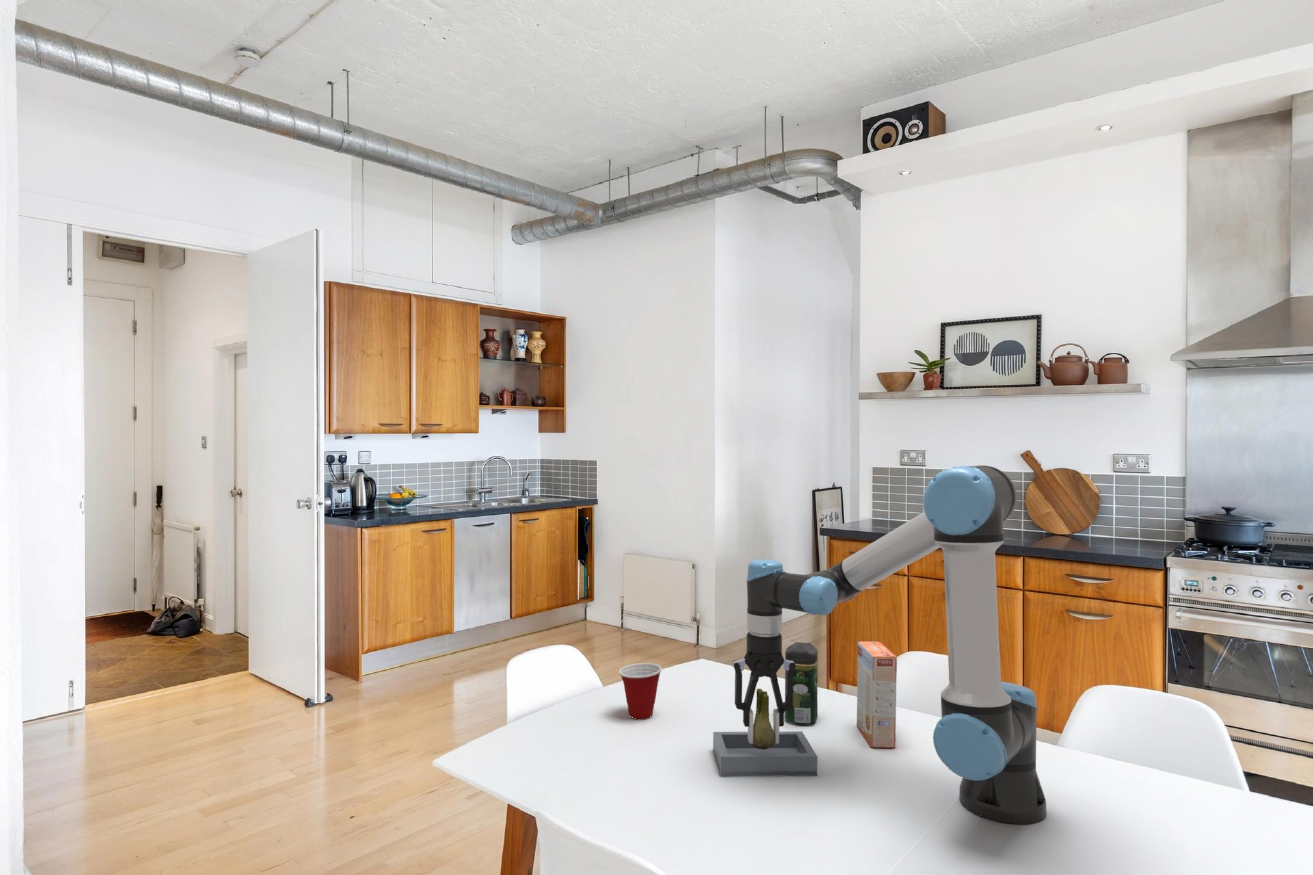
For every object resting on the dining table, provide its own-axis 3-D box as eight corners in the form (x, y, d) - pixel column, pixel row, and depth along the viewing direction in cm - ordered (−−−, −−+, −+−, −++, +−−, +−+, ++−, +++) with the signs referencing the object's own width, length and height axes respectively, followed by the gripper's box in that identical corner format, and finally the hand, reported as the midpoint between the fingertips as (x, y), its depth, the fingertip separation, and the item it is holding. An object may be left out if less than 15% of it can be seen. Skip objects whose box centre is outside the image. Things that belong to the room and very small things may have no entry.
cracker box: (897, 749, 177) (898, 656, 177) (870, 748, 177) (871, 655, 177) (881, 726, 191) (881, 640, 191) (856, 726, 191) (856, 640, 191)
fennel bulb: (753, 740, 172) (754, 686, 173) (776, 743, 171) (776, 688, 171) (749, 750, 167) (750, 694, 167) (773, 753, 166) (773, 696, 166)
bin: (817, 775, 162) (817, 756, 162) (720, 776, 162) (720, 756, 162) (802, 749, 176) (802, 731, 176) (713, 749, 176) (713, 731, 176)
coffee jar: (787, 711, 201) (788, 638, 202) (819, 715, 199) (819, 641, 199) (782, 724, 192) (782, 648, 192) (815, 728, 190) (815, 651, 190)
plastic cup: (613, 711, 201) (613, 663, 201) (653, 707, 204) (654, 660, 204) (624, 725, 190) (624, 675, 190) (667, 721, 194) (667, 672, 194)
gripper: (801, 628, 173) (800, 734, 173) (720, 628, 173) (719, 734, 173) (809, 636, 166) (808, 747, 166) (725, 636, 165) (723, 748, 165)
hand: (763, 741), depth 169 cm, fingers closed on fennel bulb, 5 cm apart
